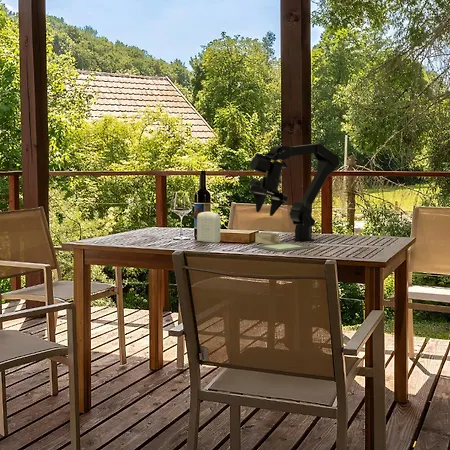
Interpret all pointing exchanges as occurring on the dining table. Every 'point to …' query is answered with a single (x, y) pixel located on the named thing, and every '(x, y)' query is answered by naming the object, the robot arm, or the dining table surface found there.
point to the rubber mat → (282, 247)
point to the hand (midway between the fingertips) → (264, 214)
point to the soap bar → (208, 227)
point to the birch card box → (266, 238)
